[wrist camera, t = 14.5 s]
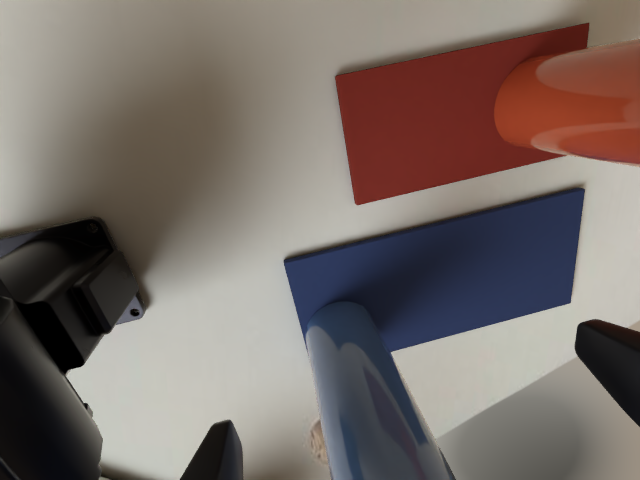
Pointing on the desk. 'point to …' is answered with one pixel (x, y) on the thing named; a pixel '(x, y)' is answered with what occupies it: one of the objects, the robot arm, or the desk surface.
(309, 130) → the desk surface
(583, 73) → the orange red candle
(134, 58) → the desk surface
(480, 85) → the oxblood mat
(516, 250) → the navy mat
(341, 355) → the slate blue jar
